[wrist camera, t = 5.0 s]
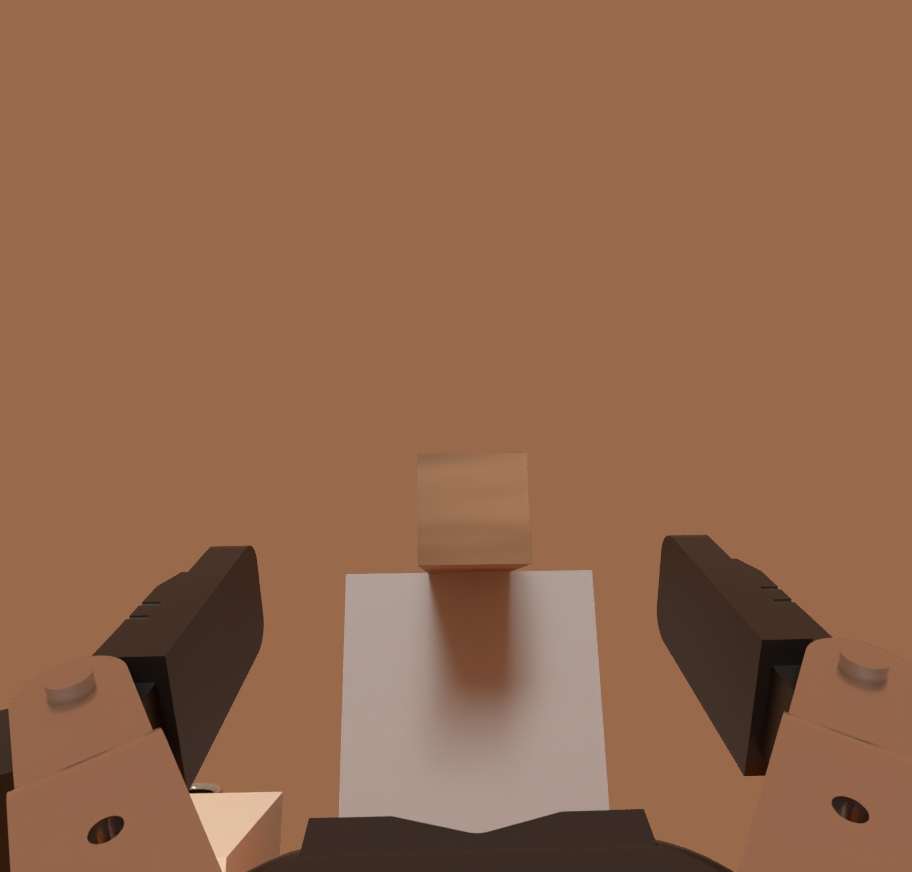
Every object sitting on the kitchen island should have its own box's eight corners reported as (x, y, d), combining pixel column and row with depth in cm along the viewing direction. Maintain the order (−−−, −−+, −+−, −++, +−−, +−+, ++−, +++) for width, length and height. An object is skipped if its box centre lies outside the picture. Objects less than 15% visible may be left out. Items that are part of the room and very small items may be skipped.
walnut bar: (437, 579, 44) (437, 525, 45) (491, 578, 44) (489, 524, 45) (417, 565, 21) (417, 453, 22) (532, 563, 21) (526, 452, 22)
